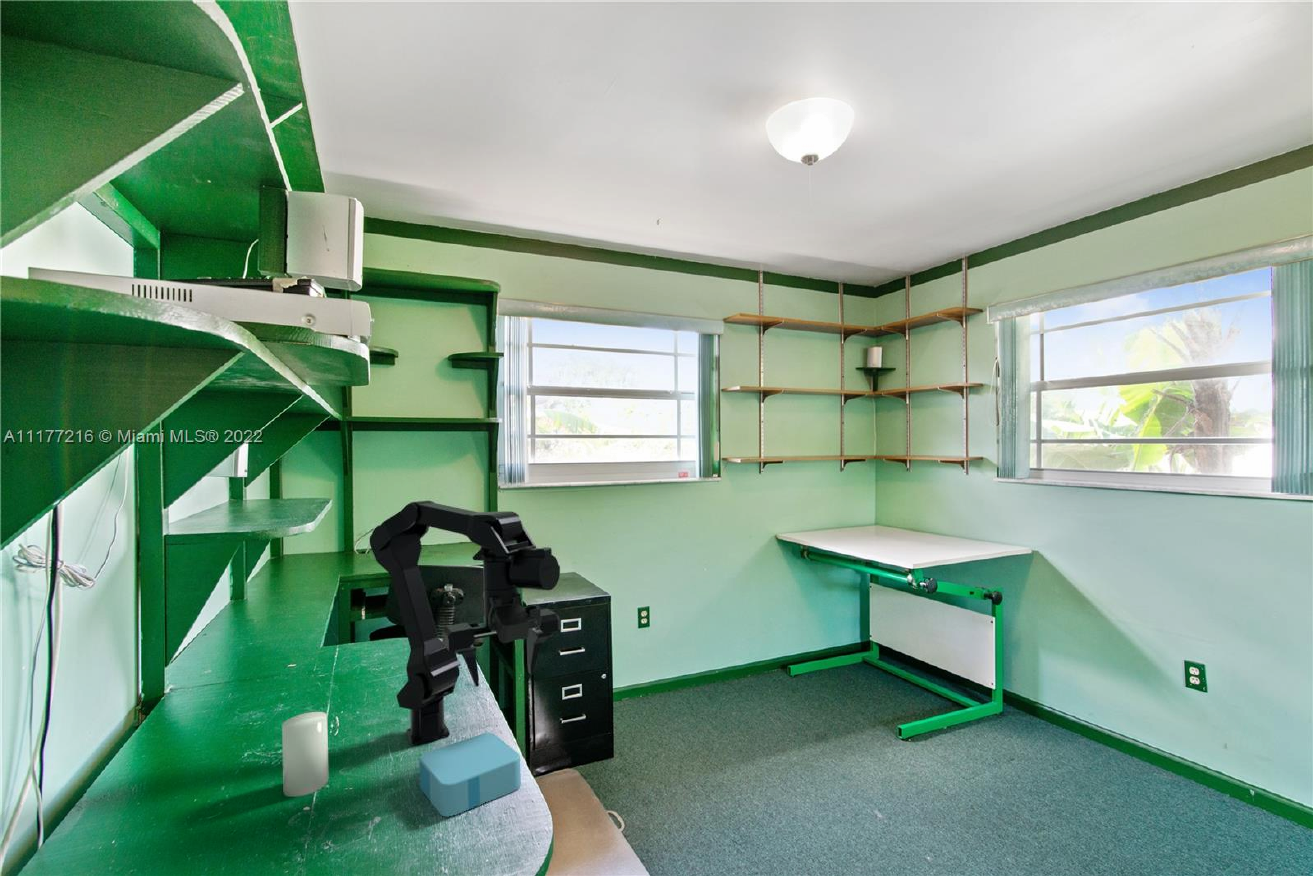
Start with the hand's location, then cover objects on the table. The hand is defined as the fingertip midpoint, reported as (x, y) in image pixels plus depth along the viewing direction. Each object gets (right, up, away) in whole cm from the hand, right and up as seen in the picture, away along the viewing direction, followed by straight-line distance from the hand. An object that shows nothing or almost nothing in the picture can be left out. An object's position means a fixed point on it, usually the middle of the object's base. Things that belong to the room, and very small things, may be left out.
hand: (504, 679), depth 100 cm
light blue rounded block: (-7, -10, -15) cm, 19 cm away
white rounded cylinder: (-28, -13, -8) cm, 32 cm away
